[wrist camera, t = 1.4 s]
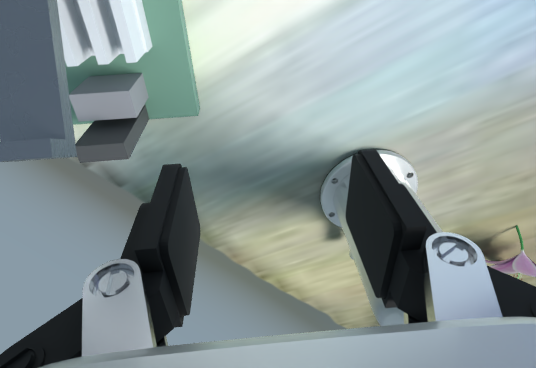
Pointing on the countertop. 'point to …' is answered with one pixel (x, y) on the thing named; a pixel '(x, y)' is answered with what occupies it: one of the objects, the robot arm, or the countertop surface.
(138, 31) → the base
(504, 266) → the lily
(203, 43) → the countertop surface
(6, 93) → the thin grey bar
